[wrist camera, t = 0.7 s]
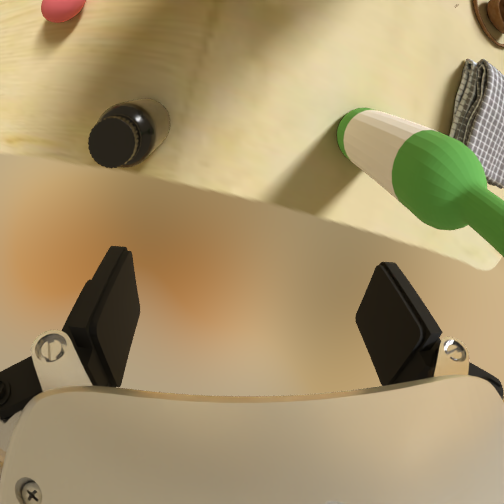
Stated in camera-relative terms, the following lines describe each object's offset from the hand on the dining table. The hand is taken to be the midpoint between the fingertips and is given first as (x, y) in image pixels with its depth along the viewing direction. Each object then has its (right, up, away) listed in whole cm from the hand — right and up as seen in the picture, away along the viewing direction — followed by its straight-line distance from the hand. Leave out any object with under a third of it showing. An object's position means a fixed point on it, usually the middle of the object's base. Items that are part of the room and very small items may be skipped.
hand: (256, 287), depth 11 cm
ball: (-23, +31, +8) cm, 40 cm away
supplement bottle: (-13, +17, +22) cm, 31 cm away
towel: (+37, +22, +23) cm, 49 cm away
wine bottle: (+14, +17, +24) cm, 33 cm away
